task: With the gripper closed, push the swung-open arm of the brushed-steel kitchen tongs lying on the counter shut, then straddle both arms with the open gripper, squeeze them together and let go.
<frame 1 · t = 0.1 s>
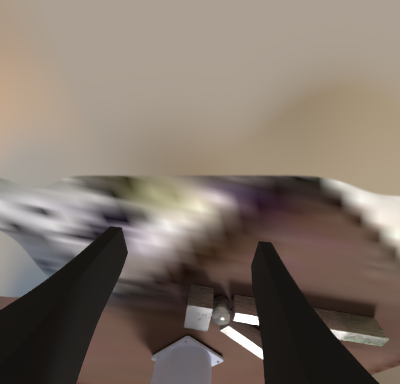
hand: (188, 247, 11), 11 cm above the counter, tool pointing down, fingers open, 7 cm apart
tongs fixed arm: (220, 300, 28), on the counter
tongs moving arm: (266, 345, 29), point 1 cm above the counter, hinge at 35.0°
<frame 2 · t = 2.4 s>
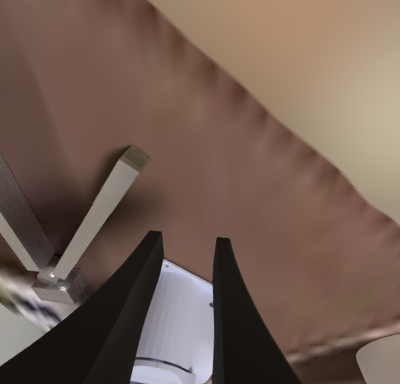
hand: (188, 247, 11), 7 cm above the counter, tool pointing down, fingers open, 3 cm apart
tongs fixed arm: (61, 260, 26), on the counter
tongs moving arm: (81, 230, 20), point 1 cm above the counter, hinge at 35.0°
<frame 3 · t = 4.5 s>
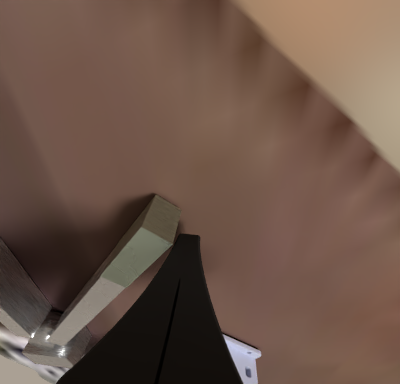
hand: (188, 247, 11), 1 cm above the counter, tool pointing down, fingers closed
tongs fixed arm: (59, 314, 21), on the counter
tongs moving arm: (83, 294, 15), point 1 cm above the counter, hinge at 34.4°, touching gripper
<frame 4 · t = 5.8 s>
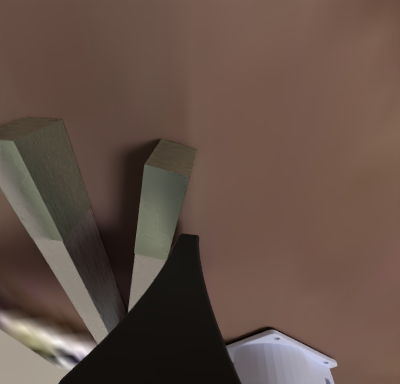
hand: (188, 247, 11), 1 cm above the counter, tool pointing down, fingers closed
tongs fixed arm: (131, 323, 21), on the counter
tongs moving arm: (137, 289, 14), point 1 cm above the counter, hinge at 12.4°, touching gripper
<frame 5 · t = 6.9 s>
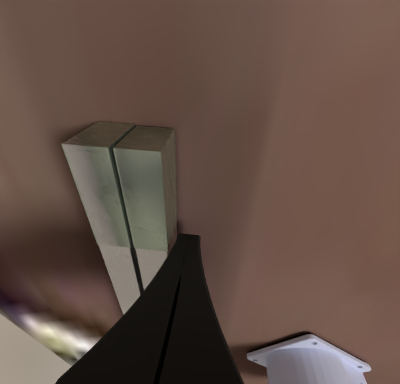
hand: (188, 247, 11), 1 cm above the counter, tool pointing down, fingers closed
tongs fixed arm: (163, 327, 20), on the counter
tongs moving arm: (155, 288, 14), point 1 cm above the counter, hinge at -0.1°, touching gripper
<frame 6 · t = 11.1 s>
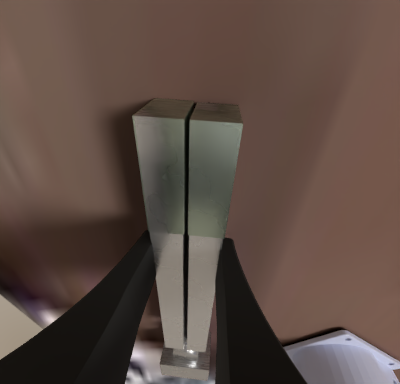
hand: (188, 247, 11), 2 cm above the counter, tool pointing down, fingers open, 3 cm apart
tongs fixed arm: (189, 323, 20), on the counter
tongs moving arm: (192, 281, 13), point 1 cm above the counter, hinge at -0.1°, touching gripper
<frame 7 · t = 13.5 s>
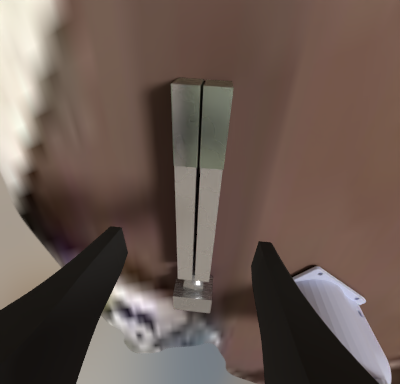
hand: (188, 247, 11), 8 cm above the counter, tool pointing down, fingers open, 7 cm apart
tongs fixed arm: (195, 267, 25), on the counter
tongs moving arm: (200, 217, 18), point 1 cm above the counter, hinge at -0.1°
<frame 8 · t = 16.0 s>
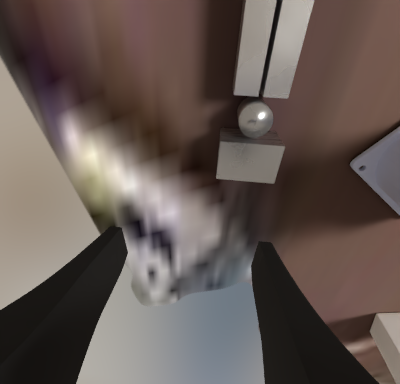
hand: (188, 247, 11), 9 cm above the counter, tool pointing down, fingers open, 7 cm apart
milk: (394, 320, 31), on the counter
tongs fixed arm: (251, 111, 16), on the counter
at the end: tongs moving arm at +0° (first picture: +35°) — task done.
